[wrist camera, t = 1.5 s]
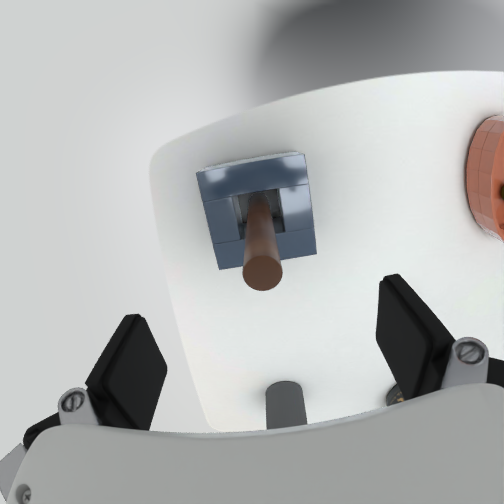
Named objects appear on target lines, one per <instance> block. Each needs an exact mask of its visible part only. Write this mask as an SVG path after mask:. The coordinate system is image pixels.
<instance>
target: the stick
mask: <svg viewBox="0 0 504 504" xmlns="http://www.w3.org/2000/svg"><path fill="white" fill-rule="evenodd" d="M282 273H283V272H282V266H281V261H280V256H279V251H278V246H277V241H276V236H275V231H274V226H273V221H272V216H271V211H270V206H269V202H268V198H267V196H266V195H265V194H263V193H260V192H257V193H254V194H252V195H251V197H250V198H249V205H248V216H247V227H246V239H245V250H244V262H243V278H244V281H245V282H246V284H247V285H248V286H249V287H251V288H253V289H255V290H259V291H266V290H270V289H272V288H274V287H275V286H276V285H277V284H278V283H279V282H280V280H281V278H282Z"/></svg>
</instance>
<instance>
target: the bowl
mask: <svg viewBox="0 0 504 504" xmlns="http://www.w3.org/2000/svg"><path fill="white" fill-rule="evenodd" d="M466 170H467V193H468V198H469V204H470V208H471V211H472V213H473V215H474V217H475V220H476V222H477V223H478V224H479V226H480V227H481V228H482V229H483V230H484V231H485V232H487V233H489V234H490V235H492V236H494V237H495V238H497V239H499V240H500V241H502V242H503V243H504V201H503V199H502V196H501V190H502V187H503V186H504V116H498V115H495V116H493V117H490V118H488V119H486V120H485V121H484V122H483V123H482V124H481V126H480V127H479V128H478V129H477V131H476V133H475V136H474V138H473V141H472V143H471V146H470V149H469V155H468V161H467V168H466Z"/></svg>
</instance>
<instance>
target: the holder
mask: <svg viewBox="0 0 504 504" xmlns="http://www.w3.org/2000/svg"><path fill="white" fill-rule="evenodd" d="M196 175H197V180H198V184H199V189H200V193H201V197H202V201H203V206H204V210H205V214H206V218H207V223H208V227H209V231H210V235H211V239H212V243H213V248H214V252H215V256H216V259H217V263H218V267H219V270H222V269H228V268H235V267H241V266H243V262H244V250H245V239H246V227H247V223H243V220H242V216H241V211H240V206H239V201H238V196H237V195H241V194H247V193H253V192H259V191H264V190H270V189H276V190H277V197H278V203H279V209H280V215H281V217H278V218H272V221H273V226H274V231H275V236H276V241H277V246H278V251H279V256H280V260H284V259H291V258H297V257H303V256H309V255H315V254H317V251H316V240H315V231H314V222H313V213H312V205H311V197H310V189H309V184H308V183H309V182H308V175H307V168H306V161H305V155H304V154H303V153H300V152H297V151H292V152H285V153H279V154H272V155H266V156H260V157H254V158H248V159H243V160H237V161H232V162H227V163H222V164H217V165H212V166H208V167H205V168H204V169H202V170H200V171H199V172H197V173H196Z"/></svg>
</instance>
